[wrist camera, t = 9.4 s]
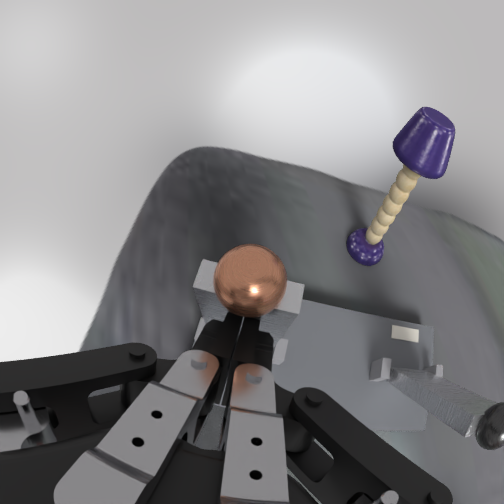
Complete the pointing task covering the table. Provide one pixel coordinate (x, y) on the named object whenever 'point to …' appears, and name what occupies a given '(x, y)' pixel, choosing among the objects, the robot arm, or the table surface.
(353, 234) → the toy lamp
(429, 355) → the switch panel
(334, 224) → the table surface
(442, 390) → the black knob lever
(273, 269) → the copper knob lever
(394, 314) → the table surface
